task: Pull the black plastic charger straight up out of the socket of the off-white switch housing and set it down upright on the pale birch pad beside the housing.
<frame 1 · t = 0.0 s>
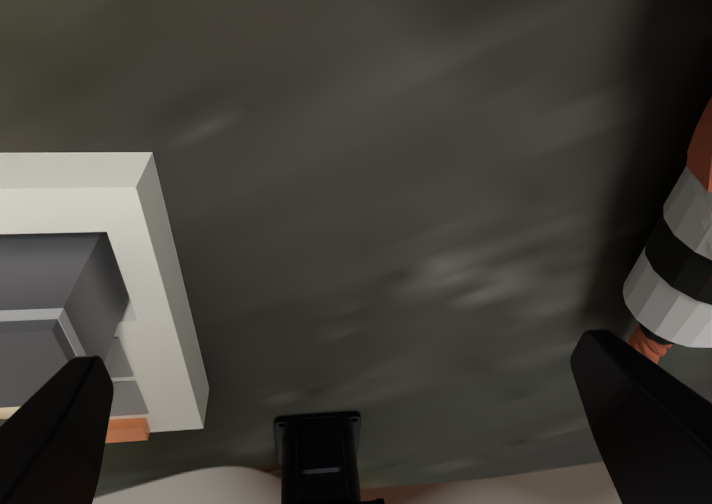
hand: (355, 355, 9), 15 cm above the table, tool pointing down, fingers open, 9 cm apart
charger: (74, 254, 23), point 1 cm above the table, touching switch housing
switch housing: (103, 298, 27), on the table
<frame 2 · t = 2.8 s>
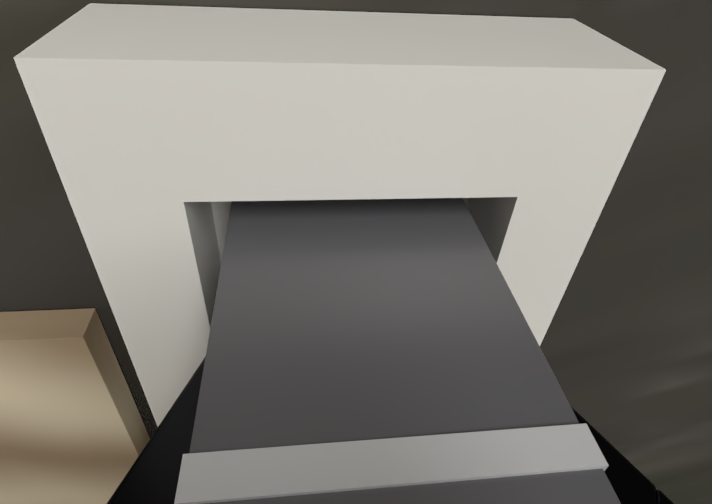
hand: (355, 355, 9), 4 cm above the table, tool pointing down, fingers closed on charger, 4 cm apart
charger: (341, 253, 11), point 1 cm above the table, touching gripper, switch housing
switch housing: (334, 333, 14), on the table
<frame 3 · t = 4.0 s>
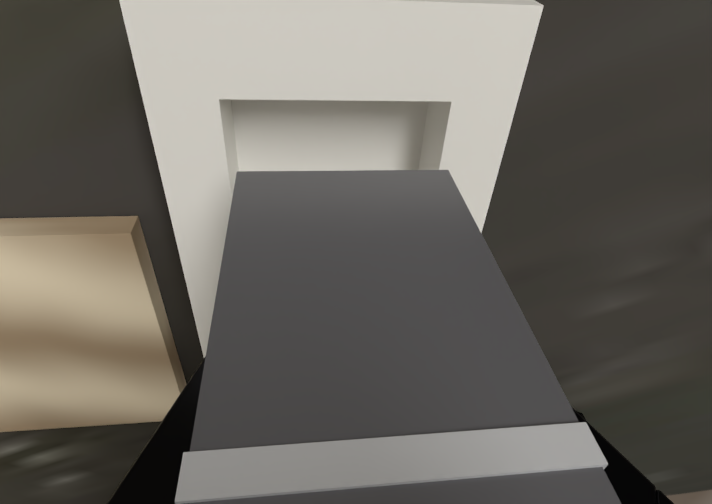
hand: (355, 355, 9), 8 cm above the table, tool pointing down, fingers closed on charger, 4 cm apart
charger: (341, 252, 11), point 5 cm above the table, touching gripper
birch pad: (27, 331, 19), on the table
switch housing: (326, 245, 18), on the table
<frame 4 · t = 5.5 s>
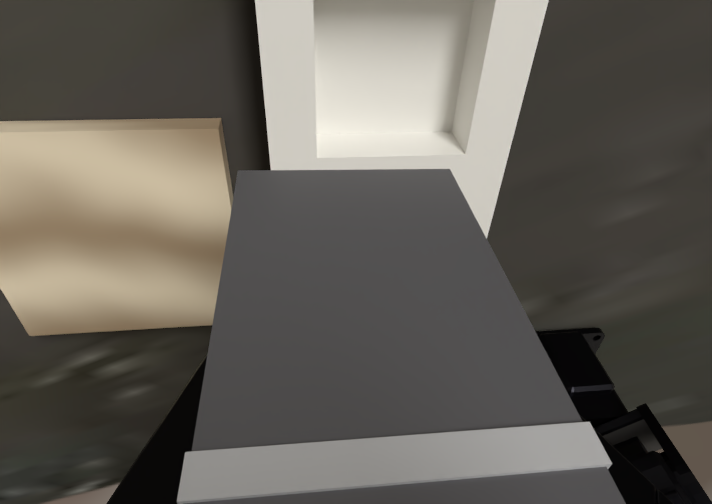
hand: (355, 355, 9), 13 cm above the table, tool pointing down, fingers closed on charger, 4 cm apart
charger: (342, 252, 11), point 10 cm above the table, touching gripper
birch pad: (117, 233, 22), on the table
switch housing: (378, 148, 21), on the table
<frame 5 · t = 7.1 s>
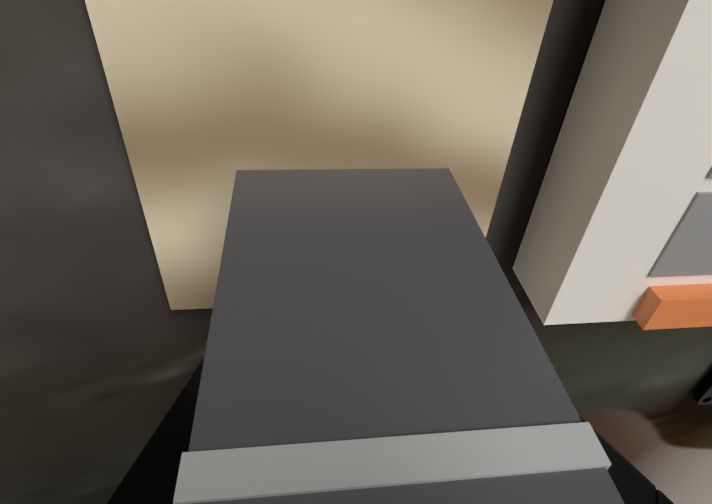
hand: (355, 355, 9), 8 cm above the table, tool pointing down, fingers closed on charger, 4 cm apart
charger: (341, 251, 11), point 5 cm above the table, touching gripper
birch pad: (325, 156, 15), on the table
when the fingers open (6 cm above the table, at t = 8.2 s): charger drops 2 cm, resting on birch pad.
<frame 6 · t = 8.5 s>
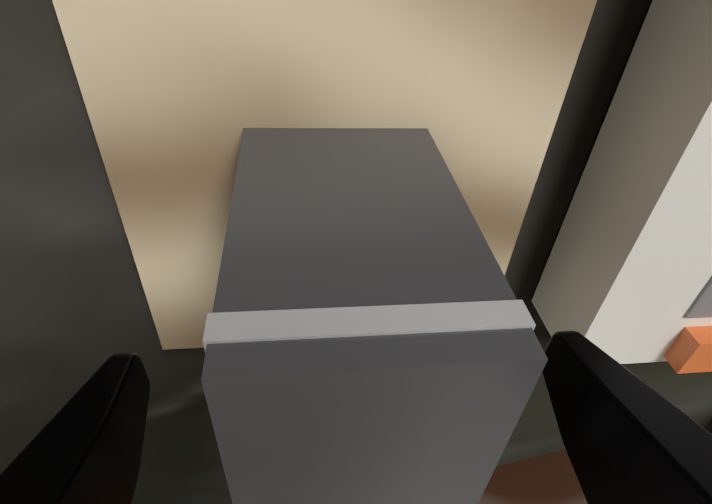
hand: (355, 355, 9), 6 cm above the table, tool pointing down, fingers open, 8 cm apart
charger: (335, 205, 13), point 1 cm above the table, touching birch pad
birch pad: (331, 187, 13), on the table
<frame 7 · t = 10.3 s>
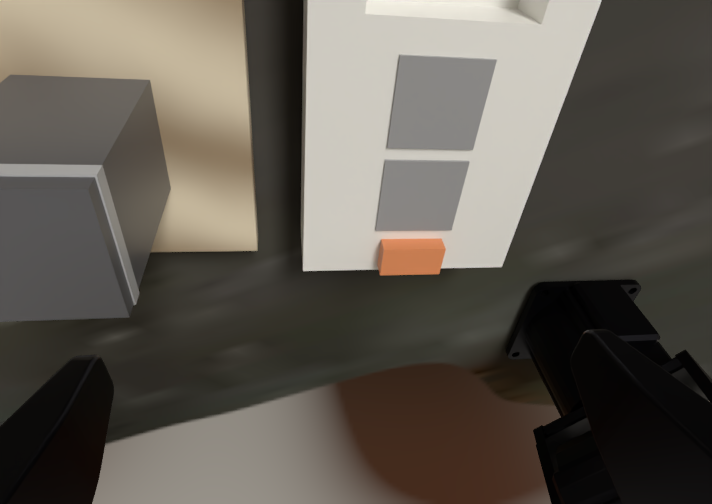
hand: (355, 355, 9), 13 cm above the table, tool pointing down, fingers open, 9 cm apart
charger: (98, 137, 17), point 1 cm above the table, touching birch pad
birch pad: (105, 126, 18), on the table
switch housing: (425, 32, 17), on the table
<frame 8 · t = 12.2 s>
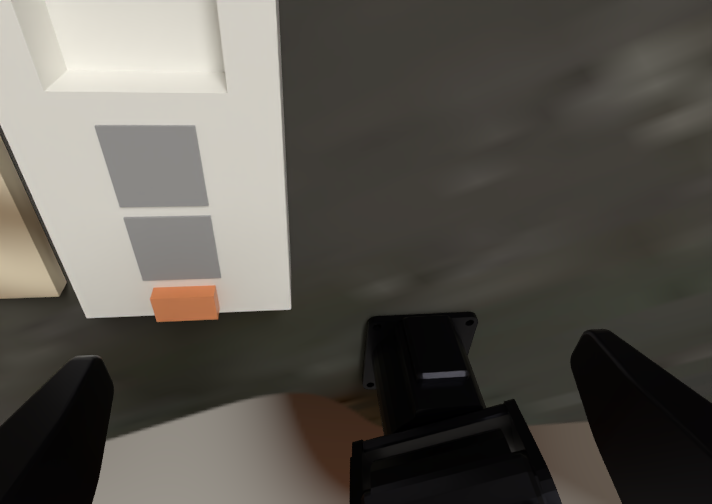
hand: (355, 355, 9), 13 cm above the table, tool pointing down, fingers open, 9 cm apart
switch housing: (164, 94, 18), on the table
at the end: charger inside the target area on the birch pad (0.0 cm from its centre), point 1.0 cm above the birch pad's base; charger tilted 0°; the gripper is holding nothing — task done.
